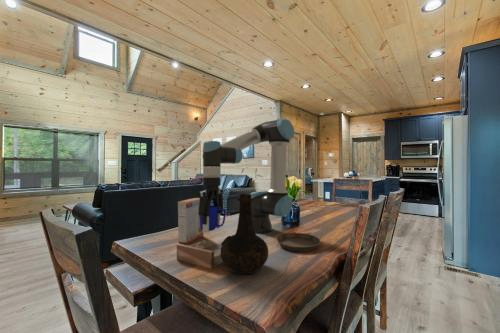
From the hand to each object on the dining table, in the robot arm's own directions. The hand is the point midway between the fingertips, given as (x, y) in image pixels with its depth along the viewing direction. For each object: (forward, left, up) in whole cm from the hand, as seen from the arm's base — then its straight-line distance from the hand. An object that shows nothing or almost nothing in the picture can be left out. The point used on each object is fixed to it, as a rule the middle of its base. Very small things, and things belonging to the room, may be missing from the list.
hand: (211, 229), depth 104 cm
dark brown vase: (+5, +20, -11) cm, 23 cm away
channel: (+3, 0, -11) cm, 11 cm away
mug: (-1, 0, 0) cm, 1 cm away
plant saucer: (-30, +29, -11) cm, 43 cm away
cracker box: (-12, -23, -11) cm, 28 cm away
